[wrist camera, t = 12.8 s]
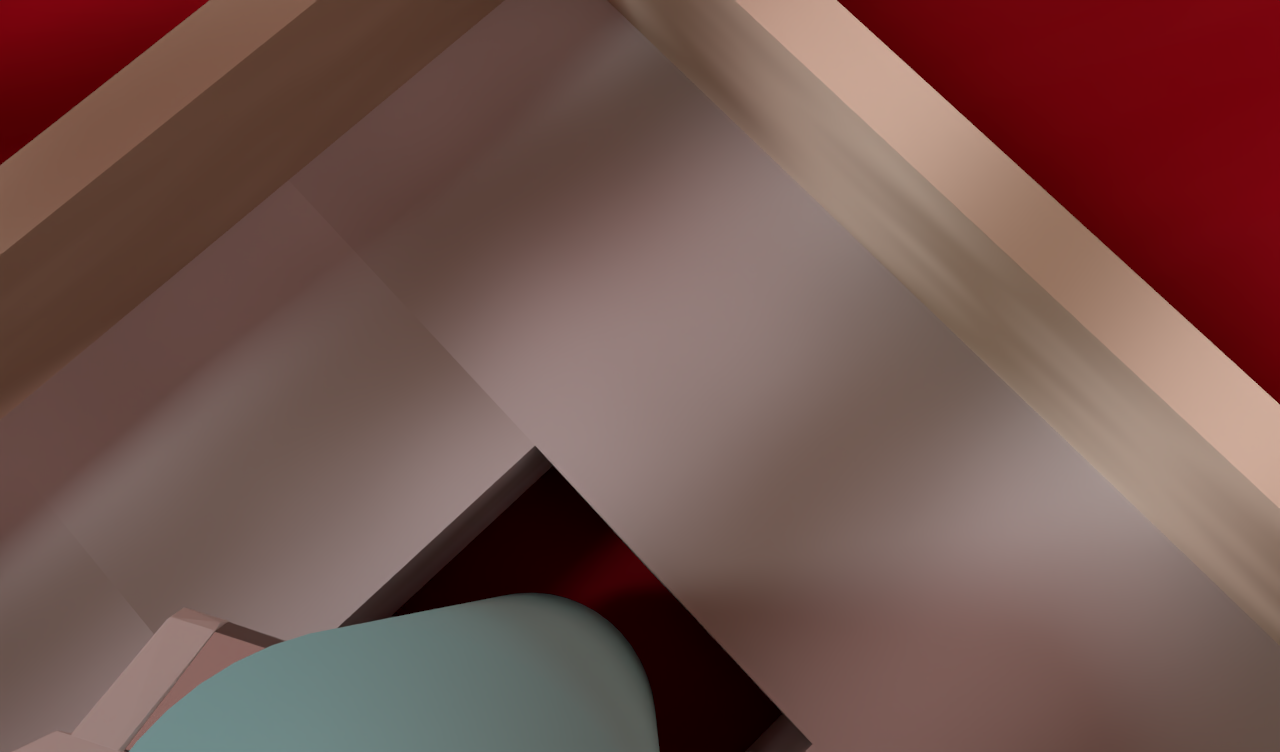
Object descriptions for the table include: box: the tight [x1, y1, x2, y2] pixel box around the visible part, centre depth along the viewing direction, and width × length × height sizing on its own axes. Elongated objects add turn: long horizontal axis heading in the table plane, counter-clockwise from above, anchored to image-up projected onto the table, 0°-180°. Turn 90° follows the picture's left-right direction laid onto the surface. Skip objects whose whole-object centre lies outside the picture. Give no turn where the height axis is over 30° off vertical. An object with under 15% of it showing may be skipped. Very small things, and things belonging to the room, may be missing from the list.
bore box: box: [0, 0, 1280, 752], centre depth 14 cm, size 20×20×6 cm
